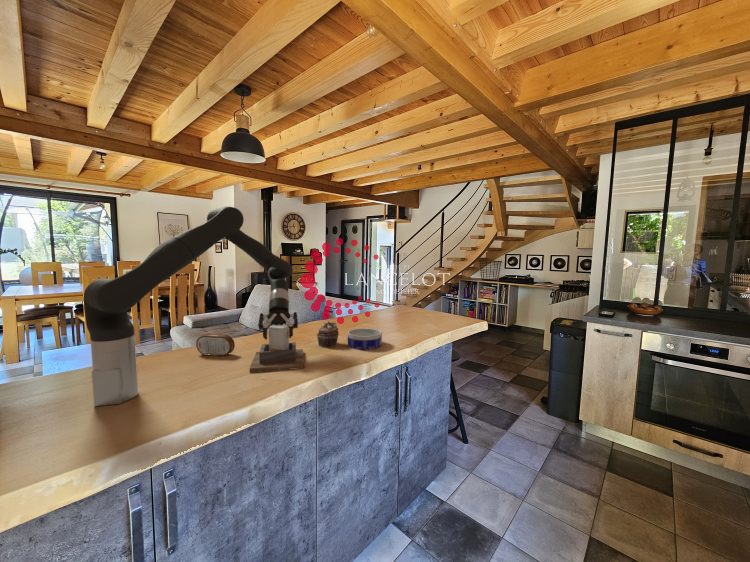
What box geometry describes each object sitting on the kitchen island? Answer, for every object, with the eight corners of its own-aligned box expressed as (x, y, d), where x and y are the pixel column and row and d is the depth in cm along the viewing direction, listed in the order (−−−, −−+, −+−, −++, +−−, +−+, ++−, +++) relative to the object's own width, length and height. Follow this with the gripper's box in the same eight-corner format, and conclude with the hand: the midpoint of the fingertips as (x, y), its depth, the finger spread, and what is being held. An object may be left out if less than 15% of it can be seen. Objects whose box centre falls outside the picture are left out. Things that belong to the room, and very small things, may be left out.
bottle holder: (303, 368, 109) (303, 352, 108) (249, 372, 104) (249, 356, 104) (303, 352, 126) (302, 339, 126) (256, 355, 122) (256, 342, 121)
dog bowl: (355, 339, 147) (355, 326, 147) (385, 342, 143) (385, 329, 142) (341, 348, 133) (341, 334, 132) (375, 351, 128) (375, 337, 128)
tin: (235, 354, 124) (234, 333, 123) (231, 357, 120) (230, 336, 120) (200, 353, 125) (199, 332, 124) (195, 355, 122) (194, 334, 121)
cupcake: (323, 340, 144) (323, 319, 143) (342, 342, 141) (342, 321, 140) (312, 346, 135) (312, 324, 134) (332, 348, 132) (332, 325, 131)
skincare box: (268, 358, 114) (268, 326, 113) (275, 354, 118) (275, 324, 117) (282, 360, 113) (282, 328, 112) (289, 356, 117) (289, 325, 116)
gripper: (259, 297, 119) (256, 333, 109) (297, 296, 122) (297, 331, 112) (261, 308, 124) (258, 344, 114) (297, 307, 128) (298, 341, 118)
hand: (278, 337), depth 113 cm, fingers open, 8 cm apart
